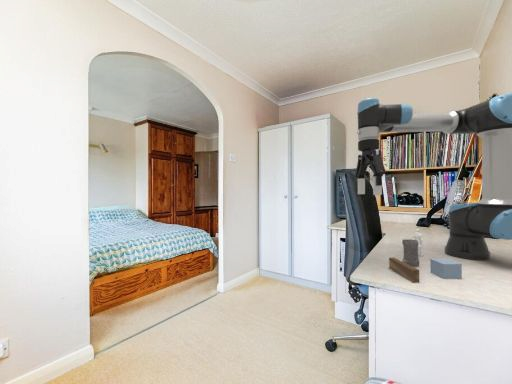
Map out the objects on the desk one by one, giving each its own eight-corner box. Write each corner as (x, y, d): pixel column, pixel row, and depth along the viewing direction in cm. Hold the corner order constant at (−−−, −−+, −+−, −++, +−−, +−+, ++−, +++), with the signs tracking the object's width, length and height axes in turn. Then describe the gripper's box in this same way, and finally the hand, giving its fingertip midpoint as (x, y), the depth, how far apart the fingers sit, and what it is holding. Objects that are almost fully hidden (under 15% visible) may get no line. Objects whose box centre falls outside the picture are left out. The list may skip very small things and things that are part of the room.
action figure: (425, 255, 105) (424, 229, 105) (421, 257, 103) (421, 229, 103) (409, 252, 110) (408, 227, 110) (405, 254, 108) (405, 228, 108)
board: (394, 267, 90) (394, 257, 90) (419, 282, 76) (419, 270, 76) (389, 268, 90) (389, 257, 90) (413, 282, 76) (413, 270, 76)
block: (447, 272, 85) (447, 258, 85) (461, 278, 79) (461, 264, 79) (430, 272, 85) (430, 258, 85) (443, 279, 79) (443, 264, 79)
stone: (420, 267, 90) (420, 241, 90) (403, 265, 92) (403, 240, 92) (417, 264, 94) (418, 239, 93) (400, 263, 95) (401, 238, 95)
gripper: (346, 146, 105) (347, 194, 105) (374, 132, 80) (374, 195, 80) (363, 145, 105) (364, 193, 105) (396, 132, 80) (397, 195, 80)
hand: (368, 194), depth 92 cm, fingers open, 13 cm apart
